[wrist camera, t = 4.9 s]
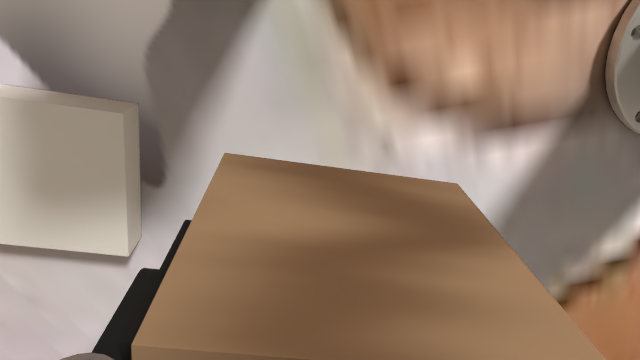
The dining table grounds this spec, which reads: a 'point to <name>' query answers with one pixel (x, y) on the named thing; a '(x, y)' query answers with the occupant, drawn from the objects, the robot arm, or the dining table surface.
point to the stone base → (69, 171)
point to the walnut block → (348, 275)
